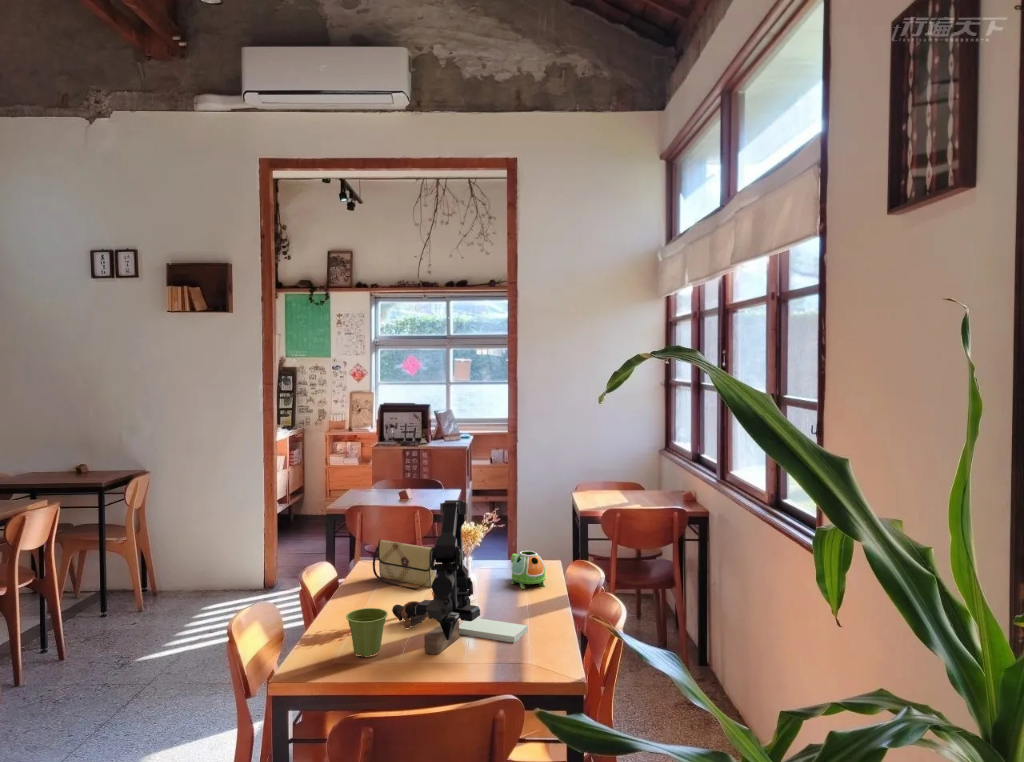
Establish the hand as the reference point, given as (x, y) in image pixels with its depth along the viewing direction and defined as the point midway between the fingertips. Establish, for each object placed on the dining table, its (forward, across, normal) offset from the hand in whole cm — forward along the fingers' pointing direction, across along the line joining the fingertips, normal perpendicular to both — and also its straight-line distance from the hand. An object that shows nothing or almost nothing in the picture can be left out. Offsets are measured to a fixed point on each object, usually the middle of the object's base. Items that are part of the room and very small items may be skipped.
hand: (448, 639), depth 212 cm
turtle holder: (+3, -4, +68) cm, 68 cm away
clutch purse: (+3, -47, +50) cm, 69 cm away
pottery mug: (+3, -22, +14) cm, 27 cm away
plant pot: (+3, -21, -10) cm, 23 cm away
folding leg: (+3, -4, +3) cm, 6 cm away
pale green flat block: (+3, +5, +18) cm, 19 cm away
